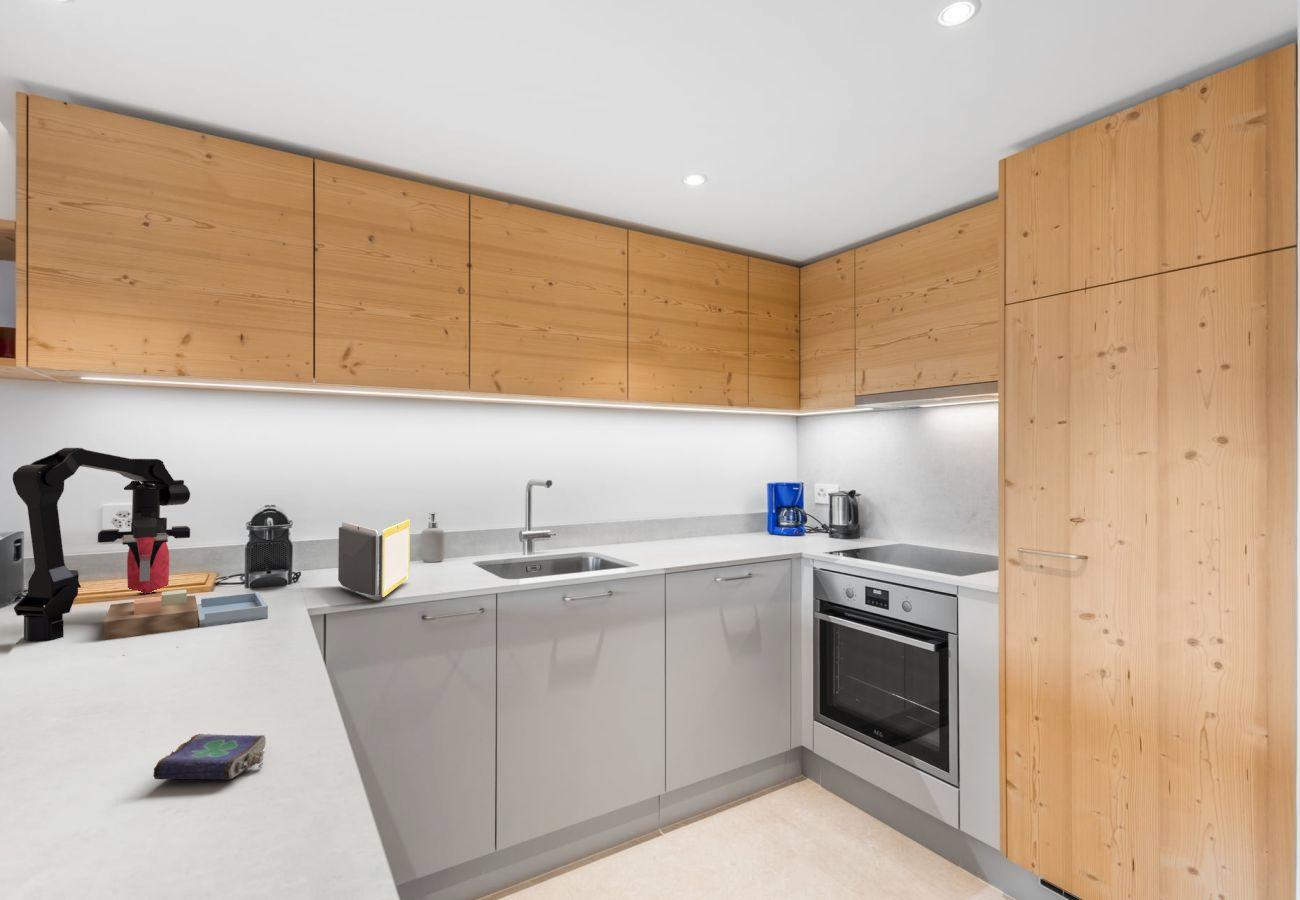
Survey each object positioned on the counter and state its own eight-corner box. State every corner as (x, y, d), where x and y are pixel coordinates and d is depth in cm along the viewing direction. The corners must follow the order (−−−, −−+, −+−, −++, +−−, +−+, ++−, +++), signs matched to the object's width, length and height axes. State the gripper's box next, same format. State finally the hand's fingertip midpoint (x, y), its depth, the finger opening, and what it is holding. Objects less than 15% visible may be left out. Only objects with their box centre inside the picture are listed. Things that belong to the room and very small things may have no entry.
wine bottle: (119, 593, 189) (119, 491, 189) (155, 587, 198) (156, 489, 198) (140, 596, 185) (140, 492, 185) (176, 589, 194) (177, 490, 194)
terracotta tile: (134, 614, 149) (134, 603, 149) (134, 610, 153) (134, 599, 153) (161, 611, 152) (161, 600, 152) (161, 607, 156) (161, 597, 156)
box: (199, 627, 153) (199, 614, 153) (196, 610, 169) (196, 599, 169) (267, 618, 162) (267, 606, 162) (258, 603, 178) (258, 592, 178)
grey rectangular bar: (139, 581, 161) (139, 561, 162) (140, 573, 173) (140, 555, 173) (149, 580, 163) (149, 560, 163) (150, 573, 174) (150, 554, 174)
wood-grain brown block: (104, 639, 143) (104, 621, 143) (110, 620, 159) (110, 604, 159) (198, 627, 153) (198, 610, 153) (195, 610, 169) (195, 595, 169)
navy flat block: (200, 730, 89) (281, 732, 89) (199, 751, 89) (279, 753, 89) (153, 763, 79) (243, 765, 80) (151, 786, 79) (242, 789, 80)
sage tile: (161, 605, 158) (161, 595, 158) (161, 601, 162) (161, 591, 162) (186, 602, 161) (186, 592, 161) (186, 599, 165) (186, 589, 165)
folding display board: (329, 582, 206) (329, 521, 206) (396, 573, 221) (396, 516, 221) (372, 601, 181) (372, 531, 181) (445, 589, 196) (445, 525, 196)
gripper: (96, 510, 156) (95, 575, 156) (191, 507, 167) (190, 568, 167) (100, 507, 165) (98, 569, 164) (189, 505, 176) (188, 562, 176)
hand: (145, 567), depth 168 cm, fingers closed on grey rectangular bar, 2 cm apart
